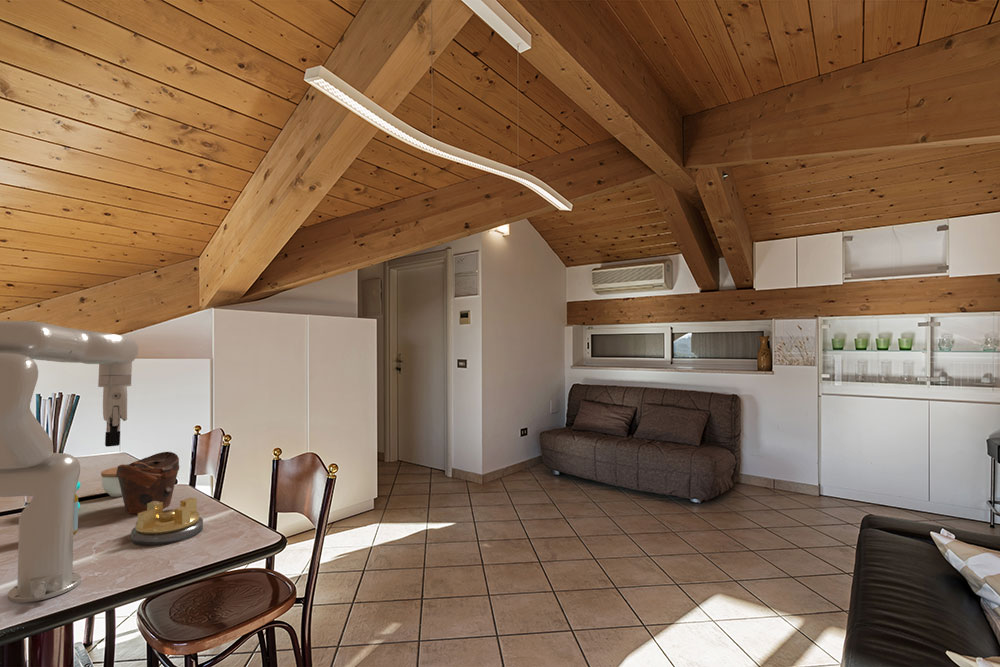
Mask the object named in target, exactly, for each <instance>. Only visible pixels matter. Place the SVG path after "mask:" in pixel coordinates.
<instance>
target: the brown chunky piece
mask: <svg viewBox="0 0 1000 667" xmlns="http://www.w3.org/2000/svg"><path fill="white" fill-rule="evenodd" d="M117 467H118V468H117V472H116V477H118V480H119V484H120V488H121V492H122V496H121V497H122V502H123V504H124V509H125V512H126V513H127V514H130V515H131V514H133V515H134V514H137V515H138V513H141V512H144V511H147V503H150V502H152V501H159V502H163V509H165V508H167V507H169V506H170V505H171V503H172V497H173V494H174V491H175V490H174V489H175V485H176V482H177V480H176V479H177V477H178V474H179V470H180V458H179V456H178V454H176V452H172V451H162V452H157V453H155V454H152V455H149V456H147V457H143V458H141V459H138V460H137V461H134V462H131V463H127V464H124V465H122V464H120V465H117Z"/></svg>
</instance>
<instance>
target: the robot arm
mask: <svg viewBox="0 0 1000 667" xmlns="http://www.w3.org/2000/svg"><path fill="white" fill-rule="evenodd" d="M138 354H139V346H138V344H137V341H136V340H134V338H132V337H131V336H128V335H122V334H116V333H111V332H110V333H109V332H101V331H92V330H89V329H87V330H86V329H81V328H71V327H65V326H61V325H55V324H51V323H46V322H41V321H32V320H31V321H30V320H0V498H8V497H9V498H10V497H11V498H12V497H13V498H14V497H32V498H31V500H30V501H29V503H28V504H27V505H26V506H25V507H24V509H22V511H21V513H20V516H19V518H18V540H17V541H18V545H17V548H18V549H17V550H18V551H17V585H16V586H14V587H12V588H11V589H10V590H9V591H8V593H7V600H8V601H9V602H12V603H17V604H18V603H19V604H20V603H21V604H22V603H23V604H24V603H25V604H26V603H33V602H38V601H42V600H47V599H51V598H54V597H57V596H59V595H62V594H64V593H67V592H69V591H71V590H73V589H75V587H77V586H78V585H79V584H80V583H81V580H82V578H81V577H82V576H81V575H80V574H79V573H77V572H73V569H74V568H73V566H74V562H73V560H74V535H73V524H74V499H75V492H76V493H77V491H76V487H77V482H78V481H79V479H80V478H79V477H80V473H81V464H80V461H79V460H78V458H76V457H75V456H73V455H71V454H68V453H62V452H54V444H53V442H52V441H53V440H52V439H51V437H50V435H49V434H48V433H47V431H46V430H45V429H44V428H43V426H42V424H41V423H40V422H39V421H38V419H37V418H36V416H35V415H34V413H33V412H32V410H31V403H32V399H33V395H34V391H35V388H36V386H37V382H38V378H39V369H38V365H37V363H36V361H35V360H37V361H48V362H56V363H75V364H77V363H80V364H81V363H82V364H87V365H98V380H97V381H98V383H97V387H98V388H103V391H102V415H103V418H102V419H103V420H104V421H105V422H106V431H105V438H104V440H105V442H104V445H105V447H117V446H120V444H121V431H120V428H121V420H122V421H123V422H126V421H127V420H128V387H131V386H132V369H133V362H134V361H135V360H136V358H137V357H138Z"/></svg>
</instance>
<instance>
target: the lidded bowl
mask: <svg viewBox="0 0 1000 667" xmlns="http://www.w3.org/2000/svg"><path fill="white" fill-rule="evenodd" d="M121 465H125V464H123V463H122V464H121ZM117 468H118V466H115V467H111V468H106V469H105V470H102V471H101V472H100V478H101V480H100V481H101V487H102V488H103V490H104V492H105V493H106V494H108V495H109V496H110V497H117V498H118V497H122V492H121V488H120V484H119V480H118V477H116V472H117Z"/></svg>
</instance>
